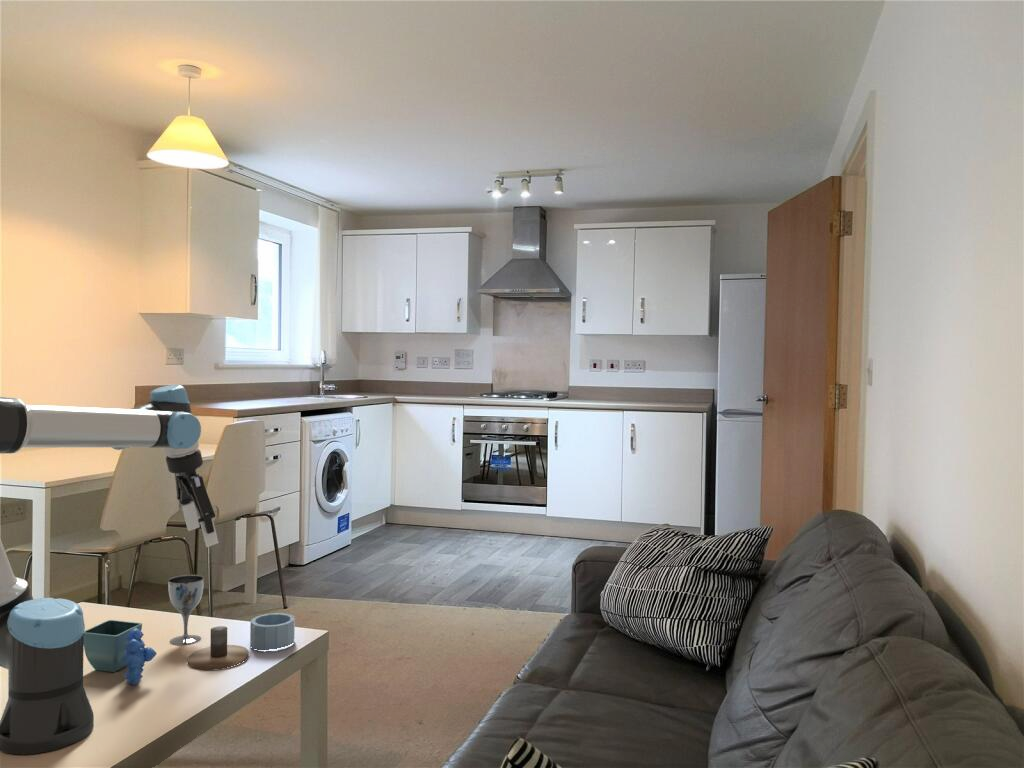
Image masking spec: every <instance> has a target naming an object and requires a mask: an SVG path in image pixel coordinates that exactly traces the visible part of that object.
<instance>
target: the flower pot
mask: <svg viewBox="0 0 1024 768" xmlns="http://www.w3.org/2000/svg"><path fill="white" fill-rule="evenodd" d="M134 628H137V629H139V630H140V631H141V632H142V629H143V622H142V623H141V622H135V621H124V620H114V619H109V620H108V619H107V620H106V621H103V622H101V623H99V624H97V625H94V626H92V627H91V628H89V629H86V630H84V654H85V657H86V659H87V661H88V663H89V664H90V666H91V667H92V668H93V669H94V670H95V671H102V672H109V673H115V672H117V671H120V670H121V669H122V668H124V667H127V666H126V665H125V664H124V660H123V659H122V656H123V654H124V653H125V652H126V651H127V650H126V649H125V648H124V647H125V645H126V644H127V643H128V642H129V641H128V640H127V639H126V638H125V637H126V635H127V634H128V633H129V632H130V631H131V630H132V629H134Z"/></svg>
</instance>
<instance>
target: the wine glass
mask: <svg viewBox="0 0 1024 768" xmlns="http://www.w3.org/2000/svg"><path fill="white" fill-rule="evenodd" d="M204 580H205V578H204V576H203V575H200V574H181V575H176V576H175V575H174V576H173V577H169V579H168V585H167V586H168V590H167V591H168V596H169V601H170V603H171V605H172V606H173V607H174V608H175V609H176V610H177V611H178V612H179V614H180V615H181V616H182V621H183V634H182V635H180V636H176V637H173V638H171V639H170V641H169V643H170V645H172V646H173V645H174V646H188V645H194V644H195V643H198V642H201V640H202V637H201V636H199V635H197V634H188V626H189V618H190V615H191V613H192V612H193V611H194V609H195V608H196V607H197V606H198V605H199V603H200V602H201V599H202V597H203V594H204V593H203V592H204V583H205V581H204Z"/></svg>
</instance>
